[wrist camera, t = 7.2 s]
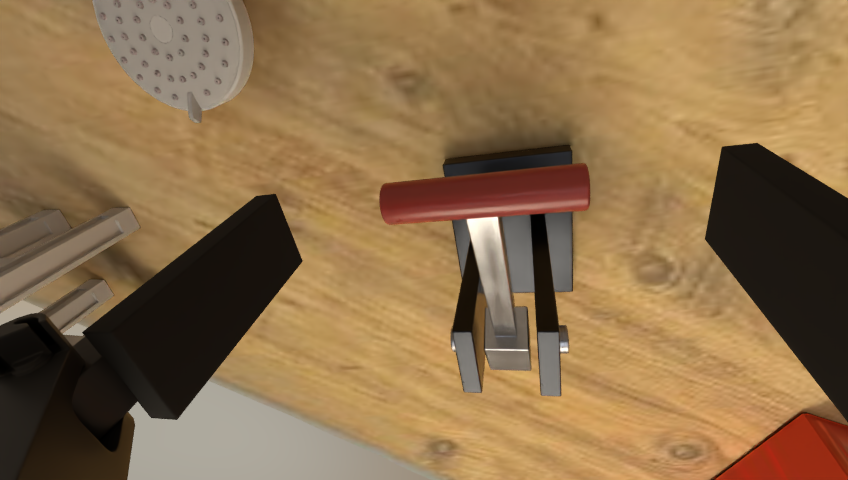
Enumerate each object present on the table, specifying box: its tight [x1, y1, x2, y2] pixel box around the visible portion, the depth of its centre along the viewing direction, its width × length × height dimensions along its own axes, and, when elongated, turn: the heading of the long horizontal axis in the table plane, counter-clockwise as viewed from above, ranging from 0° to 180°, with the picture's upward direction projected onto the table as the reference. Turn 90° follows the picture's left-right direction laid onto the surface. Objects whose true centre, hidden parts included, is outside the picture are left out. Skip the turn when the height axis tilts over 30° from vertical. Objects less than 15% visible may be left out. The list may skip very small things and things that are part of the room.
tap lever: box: [380, 163, 590, 371], centre depth 17 cm, size 13×6×2 cm, turn 10°
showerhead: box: [93, 0, 254, 123], centre depth 26 cm, size 9×7×10 cm
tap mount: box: [443, 145, 573, 396], centre depth 26 cm, size 12×9×15 cm
